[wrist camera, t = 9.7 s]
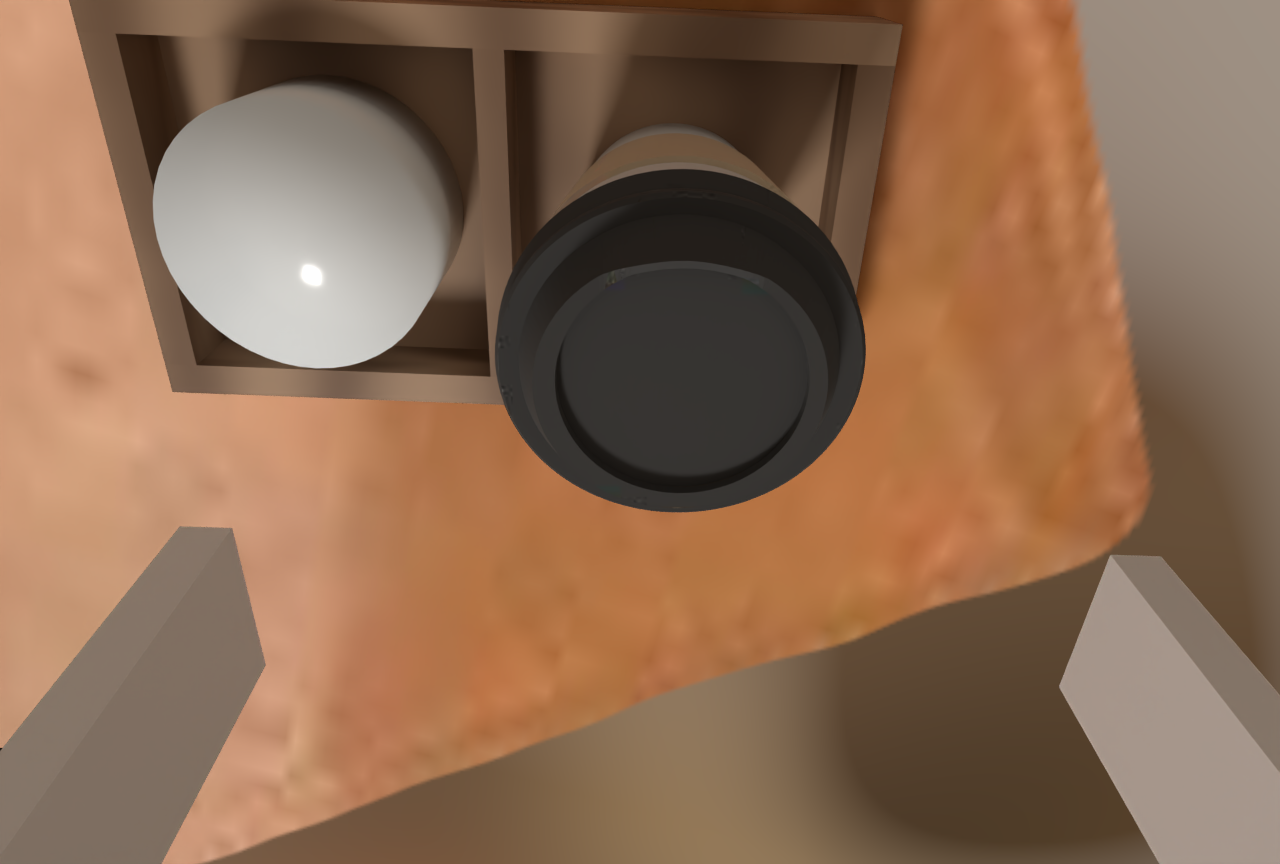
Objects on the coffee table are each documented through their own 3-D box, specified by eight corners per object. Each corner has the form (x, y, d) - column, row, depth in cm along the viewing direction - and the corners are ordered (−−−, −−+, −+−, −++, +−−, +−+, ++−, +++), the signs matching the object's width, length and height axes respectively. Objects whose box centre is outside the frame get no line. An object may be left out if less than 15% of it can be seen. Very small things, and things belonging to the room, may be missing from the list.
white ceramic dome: (247, 310, 34) (188, 363, 30) (197, 69, 30) (120, 90, 25) (470, 319, 34) (444, 373, 30) (454, 79, 30) (421, 102, 25)
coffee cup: (777, 331, 34) (851, 566, 21) (553, 324, 34) (490, 554, 21) (804, 92, 30) (920, 205, 17) (547, 84, 30) (463, 190, 17)
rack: (212, 354, 36) (172, 392, 33) (126, -16, 29) (66, -11, 26) (819, 378, 36) (834, 417, 33) (876, 16, 30) (902, 24, 27)
